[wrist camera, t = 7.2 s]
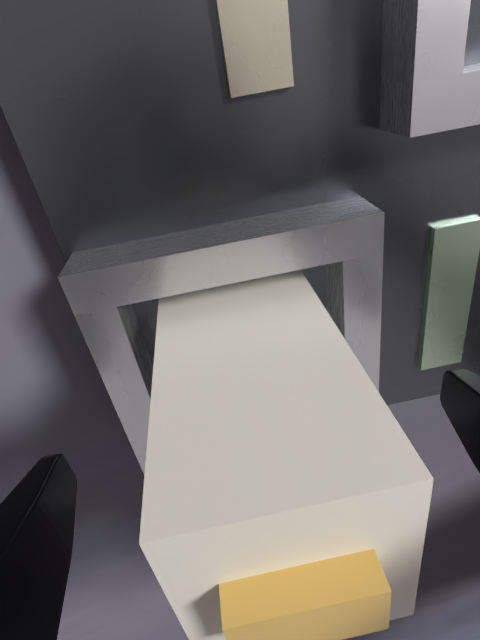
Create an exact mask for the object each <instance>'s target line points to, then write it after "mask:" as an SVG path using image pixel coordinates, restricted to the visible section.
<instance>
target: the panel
mask: <svg viewBox="0 0 480 640" xmlns="http://www.w3.org/2000/svg"><path fill="white" fill-rule="evenodd" d="M0 106H1V108H2V110H3V113H4V115H5V118H6V120H7V122H8V125H9V127H10V130H11V132H12V134H13V137H14V139H15V142H16V144H17V146H18V149H19V151H20V154H21V156H22V158H23V161H24V163H25V166H26V168H27V170H28V173H29V175H30V178H31V180H32V182H33V185H34V187H35V190H36V192H37V194H38V197H39V199H40V202H41V204H42V206H43V209H44V211H45V214H46V216H47V218H48V221H49V223H50V226H51V228H52V230H53V233H54V235H55V238H56V240H57V242H58V245H59V247H60V250H61V252H62V254H63V257H64V259H65V262H66V264H65V266H64V268H63V269H62V271H61V273H60V274H59V276H58V279H59V282H60V284H61V286H62V289H63V291H64V293H65V295H66V298H67V300H68V302H69V305H70V307H71V309H72V311H73V314H74V316H75V318H76V321H77V323H78V325H79V327H80V330H81V332H82V334H83V337H84V339H85V341H86V343H87V346H88V348H89V350H90V352H91V355H92V357H93V359H94V362H95V364H96V366H97V368H98V371H99V373H100V375H101V378H102V380H103V382H104V384H105V387H106V389H107V391H108V394H109V396H110V398H111V400H112V403H113V405H114V407H115V410H116V412H117V414H118V416H119V419H120V421H121V423H122V426H123V428H124V430H125V432H126V435H127V437H128V439H129V441H130V444H131V446H132V448H133V451H134V453H135V455H136V457H137V460H138V462H139V464H140V467H141V469H142V471H143V473H144V475H145V463H146V451H147V438H148V426H149V413H150V401H151V389H152V376H153V364H154V352H155V339H156V327H157V314H158V302H159V298H163V297H168V296H173V295H178V294H183V293H188V292H192V291H197V290H202V289H207V288H212V287H217V286H222V285H227V284H232V283H237V282H242V281H247V280H252V279H257V278H262V277H267V276H272V275H276V274H281V273H286V272H291V271H296V270H301V271H302V272H303V274H304V276H305V277H306V279H307V280H308V282H309V284H310V285H311V287H312V288H313V290H314V291H315V293H316V295H317V296H318V298H319V299H320V301H321V302H322V304H323V306H324V307H325V309H326V310H327V312H328V313H329V315H330V317H331V318H332V320H333V321H334V323H335V324H336V326H337V328H338V329H339V331H340V332H341V334H342V335H343V337H344V339H345V340H346V342H347V343H348V345H349V346H350V348H351V350H352V351H353V353H354V354H355V356H356V357H357V359H358V361H359V362H360V364H361V365H362V367H363V368H364V370H365V372H366V373H367V375H368V376H369V378H370V379H371V381H372V383H373V384H374V386H375V387H376V389H377V391H378V392H379V394H380V395H381V397H382V398H383V400H384V402H385V403H386V405H389V404H394V403H399V402H403V401H408V400H413V399H417V398H422V397H427V396H431V395H436V394H441V387H442V380H443V374H444V373H445V372H446V371H448V370H452V369H457V368H465V369H468V370H470V371H472V372H474V373H477V374H479V375H480V0H0Z"/></svg>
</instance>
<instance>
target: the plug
mask: <svg viewBox="0 0 480 640" xmlns="http://www.w3.org/2000/svg"><path fill="white" fill-rule="evenodd" d="M433 480H434V479H433V477H432V475H431V474H430V472H429V471H428V469H427V468H426V466H425V464H424V463H423V461H422V460H421V458H420V457H419V455H418V453H417V452H416V450H415V449H414V447H413V446H412V444H411V442H410V441H409V439H408V438H407V436H406V435H405V433H404V431H403V430H402V428H401V427H400V425H399V424H398V422H397V420H396V419H395V417H394V416H393V414H392V413H391V411H390V409H389V408H388V406H387V405H386V403H385V402H384V400H383V398H382V397H381V395H380V394H379V392H378V391H377V389H376V387H375V386H374V384H373V383H372V381H371V379H370V378H369V376H368V375H367V373H366V372H365V370H364V368H363V367H362V365H361V364H360V362H359V361H358V359H357V357H356V356H355V354H354V353H353V351H352V350H351V348H350V346H349V345H348V343H347V342H346V340H345V339H344V337H343V335H342V334H341V332H340V331H339V329H338V328H337V326H336V324H335V323H334V321H333V320H332V318H331V317H330V315H329V313H328V312H327V310H326V309H325V307H324V306H323V304H322V302H321V301H320V299H319V298H318V296H317V295H316V293H315V291H314V290H313V288H312V287H311V285H310V284H309V282H308V280H307V279H306V277H305V276H304V274H303V272H302V271H301V270H296V271H291V272H286V273H281V274H276V275H272V276H267V277H262V278H257V279H252V280H247V281H242V282H237V283H232V284H227V285H222V286H217V287H212V288H207V289H202V290H197V291H192V292H188V293H183V294H178V295H173V296H168V297H163V298H159V302H158V314H157V327H156V339H155V352H154V364H153V376H152V389H151V401H150V413H149V426H148V438H147V451H146V463H145V475H144V488H143V500H142V512H141V525H140V537H139V545H140V547H141V549H142V551H143V553H144V555H145V557H146V559H147V560H148V562H149V564H150V566H151V568H152V570H153V572H154V574H155V576H156V578H157V580H158V581H159V583H160V585H161V587H162V589H163V591H164V593H165V595H166V597H167V599H168V601H169V602H170V604H171V606H172V608H173V610H174V612H175V614H176V616H177V618H178V620H179V622H180V623H181V625H182V627H183V629H184V631H185V633H186V635H187V637H188V639H189V640H343V639H347V638H352V637H356V636H360V635H365V634H369V633H373V632H377V631H382V630H386V629H389V620H394V619H398V618H402V617H406V616H411V615H413V614H414V607H415V601H416V594H417V587H418V581H419V574H420V567H421V560H422V554H423V547H424V540H425V534H426V527H427V520H428V513H429V507H430V500H431V493H432V487H433Z"/></svg>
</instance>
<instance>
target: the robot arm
mask: <svg viewBox="0 0 480 640" xmlns="http://www.w3.org/2000/svg"><path fill="white" fill-rule="evenodd" d="M440 400H441V404H442V406H443V408H444V410H445V412H446V414H447V416H448V418H449V420H450V421H451V423H452V425H453V427H454V429H455V431H456V433H457V434H458V436H459V438H460V440H461V442H462V444H463V446H464V447H465V449H466V451H467V453H468V455H469V456H470V458H471V460H472V462H473V463H474V465H475V466H476V468H477V470H478V471H479V473H480V375H479V374H477V373H474V372H472V371H470V370H468V369H465V368H457V369H452V370H448V371H446V372H445V373H444V374H443V380H442V387H441V394H440ZM76 492H77V481H76V477H75V474H74V473H73V471H72V469H71V467H70V466H69V464H68V462H67V460H66V459H65V457H64V456H63V455H62V454H54V455H49V456H45V457H42V458H41V459H40V460H39V461H38V462H37V463H36V464H35V466H34V467H33V468H32V469H31V470H30V471H29V472H28V473H27V475H26V476H25V477H24V478H23V479H22V480H21V481H20V483H19V484H18V485H17V486H16V487H15V488H14V489H13V490H12V492H11V493H10V494H9V495H8V496H7V497H6V498H5V499H4V501H3V502H2V503H1V504H0V640H57V635H58V629H59V624H60V618H61V612H62V607H63V601H64V596H65V590H66V584H67V579H68V573H69V568H70V562H71V555H72V547H73V535H74V520H75V506H76Z"/></svg>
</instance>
